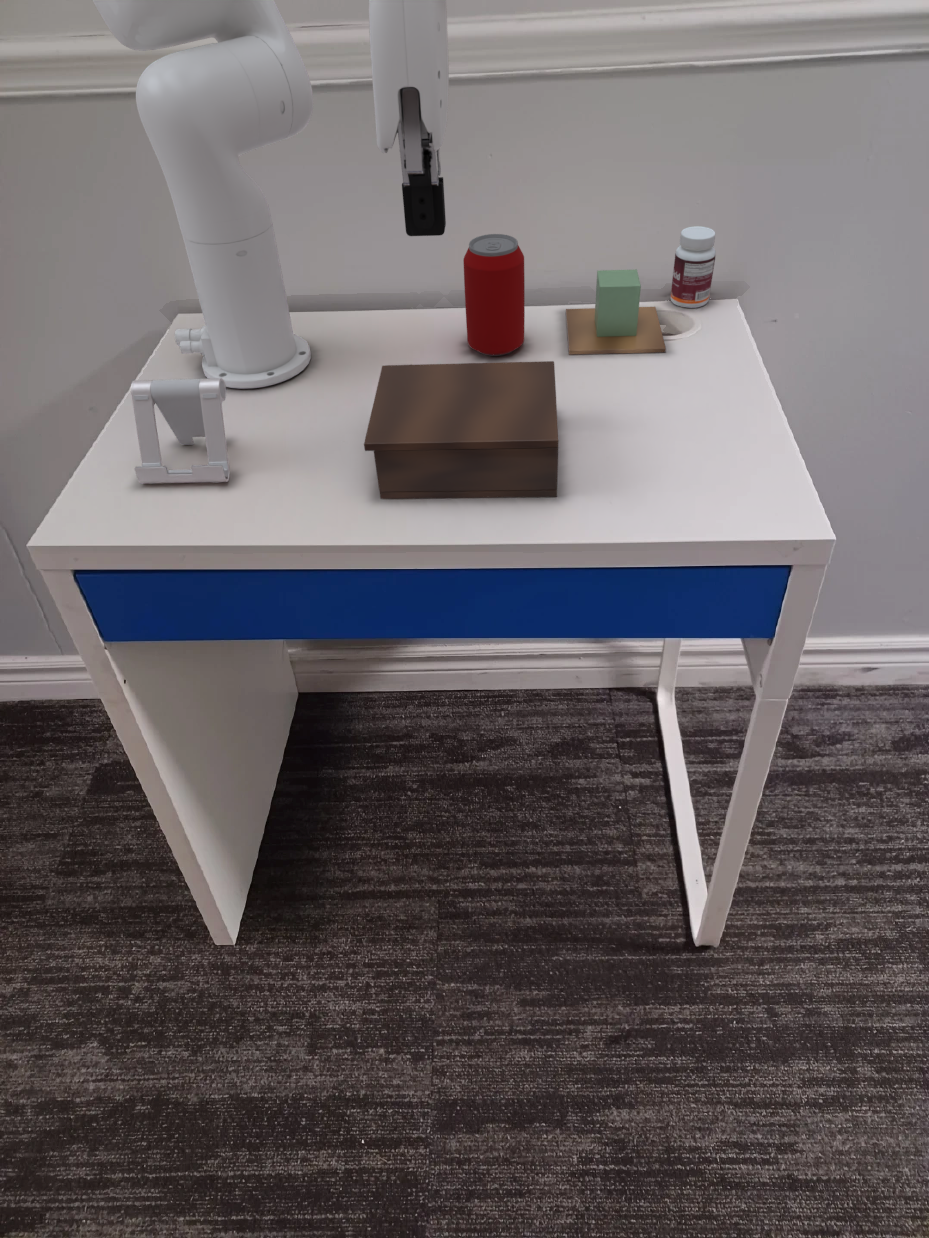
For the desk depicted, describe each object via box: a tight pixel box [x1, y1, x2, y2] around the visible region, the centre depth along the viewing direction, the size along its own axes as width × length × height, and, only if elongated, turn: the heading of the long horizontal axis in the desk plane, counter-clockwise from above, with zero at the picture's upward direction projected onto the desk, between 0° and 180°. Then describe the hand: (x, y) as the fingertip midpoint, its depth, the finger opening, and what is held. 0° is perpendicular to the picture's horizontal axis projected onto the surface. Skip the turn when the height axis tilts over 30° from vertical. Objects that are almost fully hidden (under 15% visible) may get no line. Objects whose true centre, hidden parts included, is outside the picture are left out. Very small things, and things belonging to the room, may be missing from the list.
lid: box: [363, 360, 559, 452], centre depth 84 cm, size 17×15×1 cm
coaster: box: [565, 306, 667, 355], centre depth 106 cm, size 11×11×1 cm
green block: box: [594, 268, 642, 337], centre depth 104 cm, size 5×5×6 cm
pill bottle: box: [670, 225, 717, 309], centre depth 108 cm, size 5×5×8 cm
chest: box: [373, 446, 559, 500], centre depth 87 cm, size 17×15×5 cm
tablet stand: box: [130, 377, 231, 485], centre depth 87 cm, size 9×8×8 cm
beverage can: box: [463, 233, 526, 357], centre depth 101 cm, size 7×7×12 cm
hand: (426, 231), depth 74 cm, fingers closed
